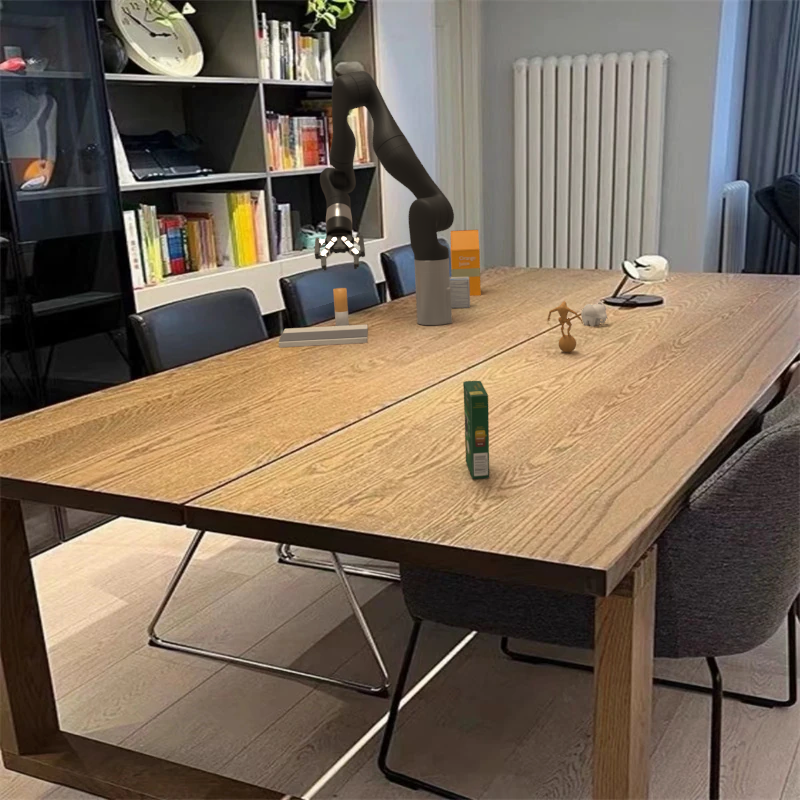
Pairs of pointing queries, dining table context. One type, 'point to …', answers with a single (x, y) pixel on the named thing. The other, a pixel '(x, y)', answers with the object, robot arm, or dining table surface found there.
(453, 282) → the medicine box
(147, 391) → the dining table surface
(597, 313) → the elephant figurine
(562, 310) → the figurine
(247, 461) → the dining table surface
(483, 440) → the coffee box
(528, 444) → the dining table surface
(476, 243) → the orange juice
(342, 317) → the orange and grey block
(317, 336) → the board
